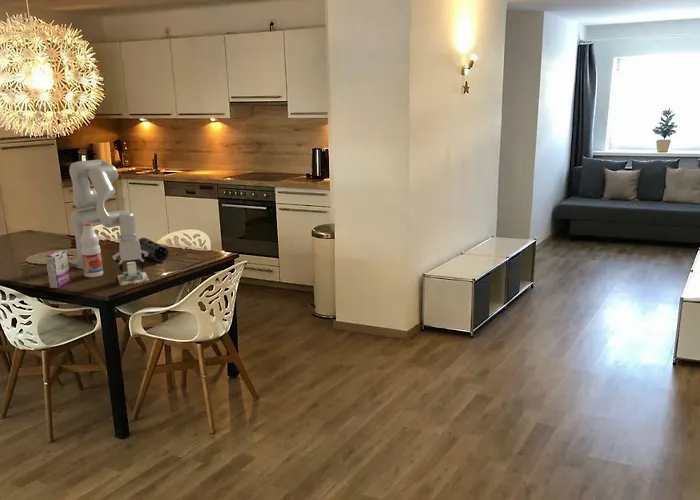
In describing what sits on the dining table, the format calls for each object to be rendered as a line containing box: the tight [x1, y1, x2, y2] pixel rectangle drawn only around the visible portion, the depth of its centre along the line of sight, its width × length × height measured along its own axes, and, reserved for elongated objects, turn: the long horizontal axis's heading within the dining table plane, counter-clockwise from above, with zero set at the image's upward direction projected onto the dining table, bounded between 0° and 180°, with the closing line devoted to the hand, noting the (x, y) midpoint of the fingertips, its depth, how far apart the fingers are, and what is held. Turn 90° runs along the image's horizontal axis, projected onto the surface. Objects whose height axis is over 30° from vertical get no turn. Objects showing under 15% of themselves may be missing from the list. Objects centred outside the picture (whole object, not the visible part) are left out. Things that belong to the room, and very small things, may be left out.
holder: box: [116, 269, 150, 287], centre depth 325 cm, size 14×16×3 cm
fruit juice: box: [80, 222, 104, 278], centre depth 332 cm, size 9×9×28 cm
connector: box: [126, 261, 138, 277], centre depth 325 cm, size 4×6×8 cm, turn 23°
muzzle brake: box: [138, 237, 170, 264], centre depth 365 cm, size 10×28×10 cm, turn 39°
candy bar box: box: [45, 250, 72, 289], centre depth 317 cm, size 11×5×16 cm, turn 170°
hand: (132, 270), depth 325 cm, fingers open, 9 cm apart
